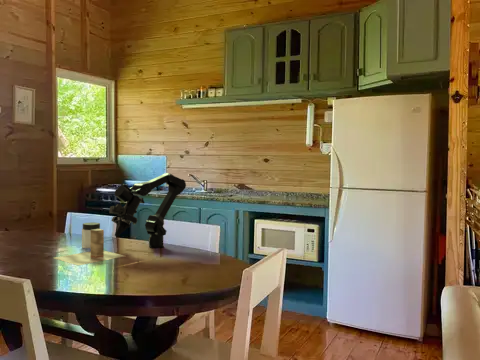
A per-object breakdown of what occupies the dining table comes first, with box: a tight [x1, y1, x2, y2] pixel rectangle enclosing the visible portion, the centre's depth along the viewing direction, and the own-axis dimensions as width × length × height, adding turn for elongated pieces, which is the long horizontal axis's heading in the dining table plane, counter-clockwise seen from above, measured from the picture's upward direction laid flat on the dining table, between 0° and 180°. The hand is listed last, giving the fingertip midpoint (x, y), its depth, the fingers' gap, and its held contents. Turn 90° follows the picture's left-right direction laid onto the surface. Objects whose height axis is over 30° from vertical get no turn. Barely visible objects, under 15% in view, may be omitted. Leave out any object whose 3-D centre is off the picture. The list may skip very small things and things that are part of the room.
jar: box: [81, 221, 101, 249], centre depth 221 cm, size 9×8×12 cm
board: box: [53, 250, 125, 266], centre depth 199 cm, size 24×20×1 cm
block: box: [90, 228, 105, 258], centre depth 199 cm, size 4×4×12 cm
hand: (115, 236), depth 207 cm, fingers closed
